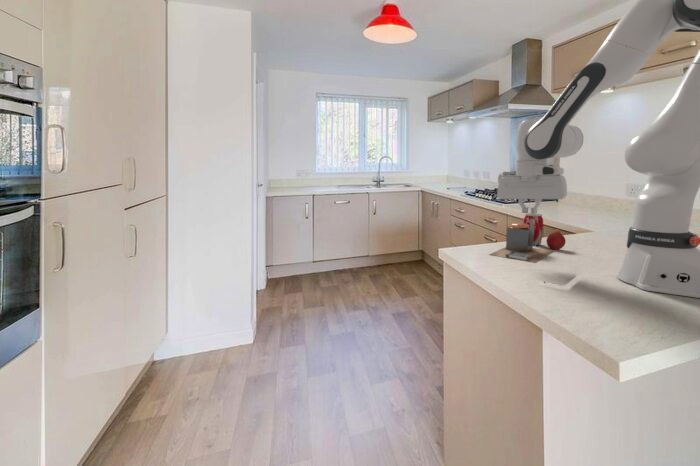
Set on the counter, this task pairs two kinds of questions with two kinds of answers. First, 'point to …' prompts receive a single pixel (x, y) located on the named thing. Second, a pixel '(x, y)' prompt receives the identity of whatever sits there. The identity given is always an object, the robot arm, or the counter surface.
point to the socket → (520, 239)
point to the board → (536, 253)
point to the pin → (520, 226)
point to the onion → (556, 240)
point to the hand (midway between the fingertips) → (529, 213)
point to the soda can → (535, 226)
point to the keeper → (518, 255)
